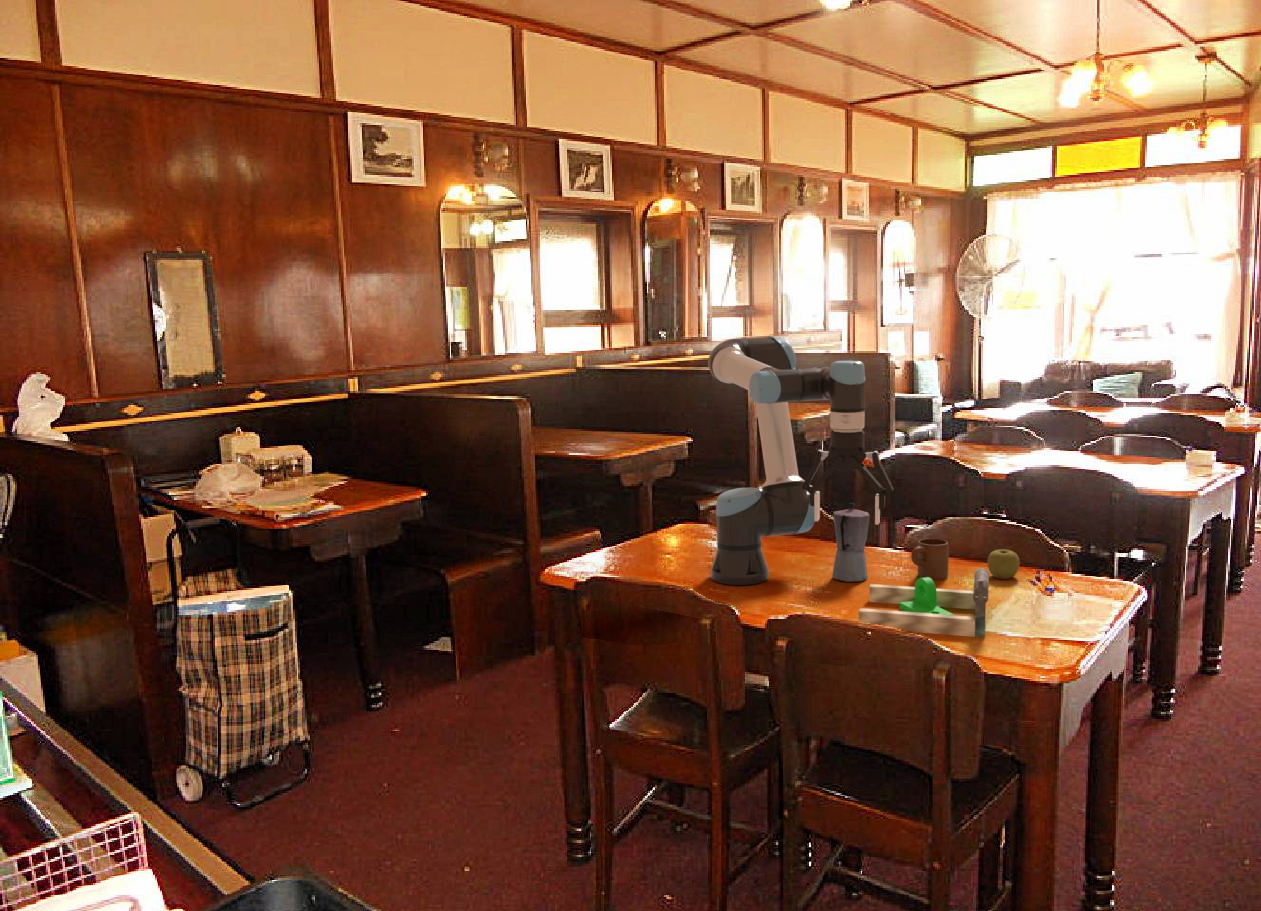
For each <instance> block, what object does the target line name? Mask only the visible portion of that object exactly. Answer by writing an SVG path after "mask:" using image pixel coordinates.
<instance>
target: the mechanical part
mask: <svg viewBox="0 0 1261 911" xmlns="http://www.w3.org/2000/svg"><path fill="white" fill-rule="evenodd" d="M914 587H915V600H914V601H907V602H900V604H899V610H900V611H903V612H916V613H929V614H942V615H955V614H954V613H952V612H950V611H948V610H946V609H944V608H943V607H938V605H937V602H936V593H937V592H936V589H937V586H936V584H935V582H934V580H932V579H931V578H929V577H925V578H920V577H919V578H917V579H916V580H915V582H914Z"/></svg>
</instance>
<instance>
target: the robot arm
mask: <svg viewBox="0 0 1261 911" xmlns="http://www.w3.org/2000/svg"><path fill="white" fill-rule="evenodd" d="M707 366H708V369H709V372H710V374H711V375H712V377H714V379H716V380H718V381H720V382H722V383H725V384H734V385H737V386H738V387H740V388H742V389H745V390H747V391H749V394H750V397H751V398H752V400H753V402H754V403H755V408H756V415H757V421H758V428H759V429H758V430H759V436H760V442H761V443H760V444H761V450H762V459H763V464H764V466H763V467H764V473H765V479H766V480H765V482H764V483H763V484H762V486H761V490H760V489H759V488H758V487H751V486H750V487H737V488H732V489H729V490H727V491H726V490H725V491H724V492H722V493H721V494H719V495H718V497H717V499H716V508H715V516H716V517H715V518H716V546H717V547H716V552H715V555H714V560H713V563H712V566H711V570H710V574H711V575H710V576H711V580H713V581H714V582H717V583H719V584H724V585H731V586H739V585H740V586H747V585H756V584H760V583H764V582H765V581H767V580H768V579H769V572H770V571H769V567H768V566H769V565H768V563H767V561H766V558H765V555H764V552H763V549H762V538H764V537H776V536H785V535H797V534H802V533H806V532H809V531H811V529H812V528H813V527H814V525H815V522H819V520H820V516H821V515H820V512H821V508H820V504H821V501H820V500H821V497H820V496H821V495H820V493H821V492H820V491H819V490H818V489H819V487H820V486H821V485H822V484H823V483H824V482H825V481H826V480H827V479H828V478H829V476H830V475H831V474H832V473H833V472H834V471H835V470H838V471H839V472H845V471H849V472H854V471H857V472H859V474H861V476H862V477H864V479H865V480H866V481H867V482H868V483H869V485H870V486H871V487H872V489H874V491H875V492H876V494H875V496H874V497H875V498H874V501H875V502H874V504H875V505H874V516H875V517H874V525H879V524H880V522H881V520H880V519H881V510H884V509H885V507H886V496H887V495H888V494H892V493H893V491H894V487H893V485H892V482H891V481H890V479H889V477H888V475H887V473H886V471H885V469H884V465H883V464H882V462H881V460H880V453H879V451H878V450H874V451H870V452H869V451H867V452H866V449H865V431H864V430H863V429H864V428H865V420H866V419H865V417H866V416H865V415H866V414H865V412H866V411H865V404H866V403H865V401H866V399H865V398H866V374H865V364H864V363H863V361H860V360H836V361H833V362H832V363H831V365H830V366H825V365H824V366H815V367H812V368H811V367H810V368H796V366H797V359H796V355H795V351H794V349H793V346H792V345H791V343H790V342H789V341H788V340H787V339H786V338H785V337H781V336H778V337H777V336H765V337H764V336H762V337H744V338H729V339H727V340H724V341H722V342H720V343H718V344H717V345H716V346H714V348H713V349H712V351H711V352H710V354H709V357H708V362H707ZM808 401H811V402H813V401H830V406H829V407H830V408H829V410H830V411H829V412H830V415H829V416H830V420H829V421H830V424H829V428H831V431H830V436H829V437H830V442H829V443H830V445H829V446H830V447H829V451H828V450H827V451H826V450H825V451H824V450H823V449H818V450H816V453H815V460H814V462H813V464H812V466H811V468H810V469H809V472H808V474H807V476H806V477H805V479H803V478H802V477H801V476H800V475H799V469H798V464H797V457H796V451H795V450H796V449H795V442H794V436H793V428H792V422H791V421H792V420H791V415H790V408H789V403H791V402H794V403H795V402H808ZM826 458H828V459H829V460H830V462H831V463H832V464H831V465H830V466H829V467H828V468H827V470H825V472H823V474H822V475H821V476H820V477H819V478H818V479H817V481H816V482H815V483H814V484H813V485H811V483H812V480H813V478H814V476H815V475H816V473H817V471H818V469H819V468H820V465H821V463H822V461H824V460H825V459H826ZM866 458H867V459H868V460H869V461H870V462H871V463H872V464H873V466H874V468H875V470H876V472H877V474H878V476H879V479H880V480H881V482H882V484H883V486H884V487H883V486H882V484H881V483H880V482H879V481H878V480H877V479H876V478H875V476H874V475H873V474H872V473H871V472H870V470H869V469H868V468H867V466H866V465H865V464H864V461H865V460H866ZM761 491H762V492H761Z"/></svg>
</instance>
